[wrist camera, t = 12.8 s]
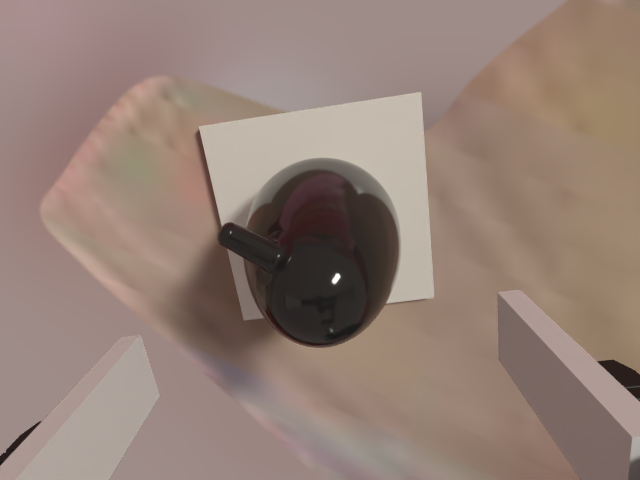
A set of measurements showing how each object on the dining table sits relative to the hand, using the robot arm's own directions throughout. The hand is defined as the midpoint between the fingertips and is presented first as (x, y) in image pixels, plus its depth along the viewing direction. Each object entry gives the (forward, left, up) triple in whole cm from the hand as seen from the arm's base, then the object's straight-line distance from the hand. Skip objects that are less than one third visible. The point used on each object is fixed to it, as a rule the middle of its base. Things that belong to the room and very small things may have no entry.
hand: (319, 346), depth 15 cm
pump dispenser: (0, 0, -17) cm, 17 cm away
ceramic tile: (0, 0, -18) cm, 18 cm away
